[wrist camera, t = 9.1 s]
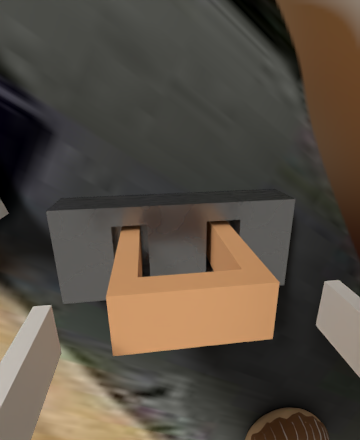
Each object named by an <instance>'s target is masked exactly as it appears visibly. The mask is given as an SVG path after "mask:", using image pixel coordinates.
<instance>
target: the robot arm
mask: <svg viewBox="0 0 360 440" xmlns="http://www.w3.org/2000/svg"><path fill="white" fill-rule="evenodd" d="M316 326H317V327H318V329H319V330H320V331H321V332H322V333H323V335H324V336H325V337H326V338H327V339H328V340H329V342H330V343H331V344H332V345H333V346H334V348H335V349H336V350H337V351H338V352H339V354H340V355H341V356H342V357H343V358H344V360H345V361H346V362H347V363H348V364H349V365H350V367H351V368H352V369H353V370H354V371H355V373H356V374H357V375H358V376H359V377H360V297H359V296H358V295H356V294H355V293H354V292H353V291H352V290H350V289H349V288H348V287H347V286H345V285H344V284H343V283H342V282H341V281H339V280H333V281H325V282H324V287H323V292H322V297H321V302H320V307H319V312H318V316H317V321H316ZM60 355H61V348H60V344H59V339H58V334H57V329H56V325H55V320H54V315H53V311H52V306H51V305H46V306H34V307H33V308H32V310H31V311H30V313H29V315H28V316H27V318H26V320H25V321H24V323H23V325H22V327H21V328H20V330H19V332H18V333H17V335H16V337H15V338H14V340H13V342H12V344H11V345H10V347H9V349H8V350H7V352H6V354H5V356H4V357H3V359H2V361H1V362H0V440H31V438H32V435H33V432H34V429H35V426H36V423H37V421H38V418H39V415H40V412H41V409H42V406H43V403H44V401H45V398H46V395H47V392H48V389H49V386H50V383H51V381H52V378H53V375H54V372H55V369H56V366H57V363H58V361H59V358H60Z"/></svg>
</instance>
